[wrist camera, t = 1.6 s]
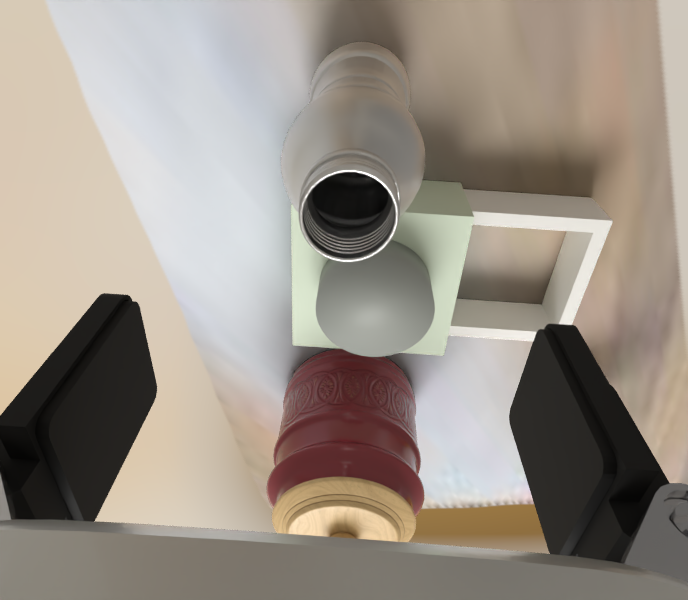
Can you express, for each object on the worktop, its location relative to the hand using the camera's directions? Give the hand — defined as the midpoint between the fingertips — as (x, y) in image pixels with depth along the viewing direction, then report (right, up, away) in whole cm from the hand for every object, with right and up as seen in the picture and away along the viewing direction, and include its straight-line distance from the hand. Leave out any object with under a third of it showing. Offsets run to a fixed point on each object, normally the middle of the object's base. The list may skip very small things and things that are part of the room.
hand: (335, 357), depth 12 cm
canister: (+1, -8, +39) cm, 40 cm away
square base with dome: (+8, +5, +29) cm, 30 cm away
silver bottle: (+1, +16, +22) cm, 27 cm away
